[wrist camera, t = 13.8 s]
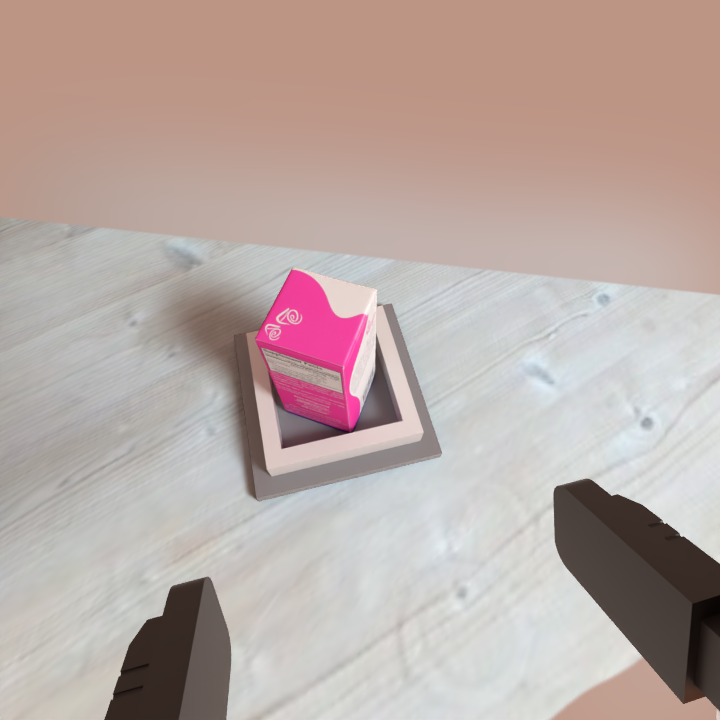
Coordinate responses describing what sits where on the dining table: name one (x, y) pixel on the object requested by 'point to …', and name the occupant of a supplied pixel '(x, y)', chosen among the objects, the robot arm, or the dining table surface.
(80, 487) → the dining table surface
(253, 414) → the socket
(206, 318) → the dining table surface
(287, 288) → the supplement box
